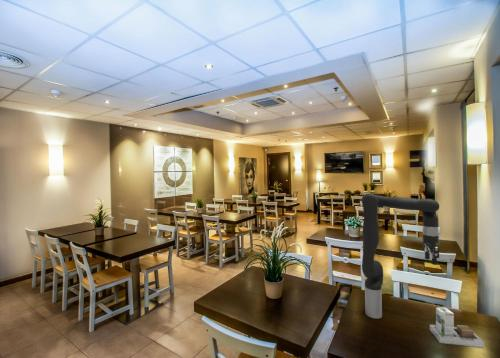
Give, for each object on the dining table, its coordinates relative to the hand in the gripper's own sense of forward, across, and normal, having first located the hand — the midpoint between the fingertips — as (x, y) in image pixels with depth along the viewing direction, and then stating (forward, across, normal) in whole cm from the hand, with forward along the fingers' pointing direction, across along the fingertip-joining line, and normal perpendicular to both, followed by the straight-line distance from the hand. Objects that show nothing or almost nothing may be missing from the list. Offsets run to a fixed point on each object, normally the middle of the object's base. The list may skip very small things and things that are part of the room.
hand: (430, 261), depth 145 cm
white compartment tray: (+36, +12, +6) cm, 39 cm away
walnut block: (+36, +12, +10) cm, 40 cm away
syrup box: (+36, +12, +1) cm, 38 cm away
